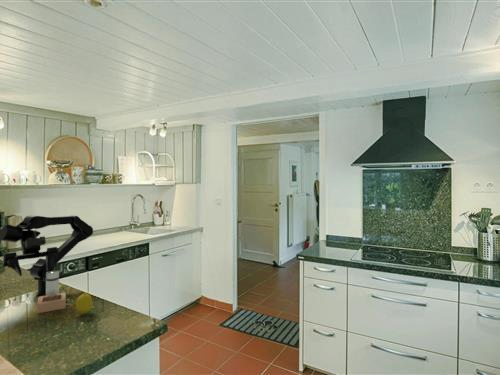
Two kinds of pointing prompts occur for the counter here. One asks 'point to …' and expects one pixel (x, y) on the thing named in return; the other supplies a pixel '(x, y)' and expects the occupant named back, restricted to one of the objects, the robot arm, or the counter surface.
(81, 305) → the lemon
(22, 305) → the counter surface
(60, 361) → the counter surface
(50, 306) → the terracotta collar
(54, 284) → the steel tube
